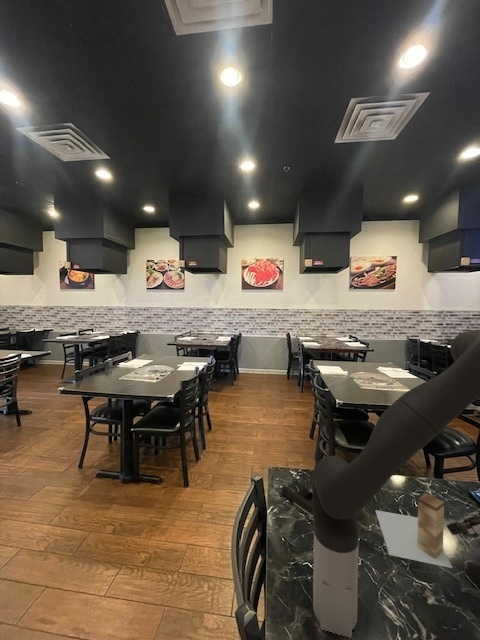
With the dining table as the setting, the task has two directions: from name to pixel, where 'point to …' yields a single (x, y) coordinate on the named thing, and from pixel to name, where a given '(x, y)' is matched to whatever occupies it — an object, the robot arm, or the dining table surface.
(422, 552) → the rubber mat
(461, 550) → the dining table surface
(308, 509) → the door handle
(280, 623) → the dining table surface
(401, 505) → the dining table surface
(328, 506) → the robot arm
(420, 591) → the dining table surface
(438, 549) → the birch block
